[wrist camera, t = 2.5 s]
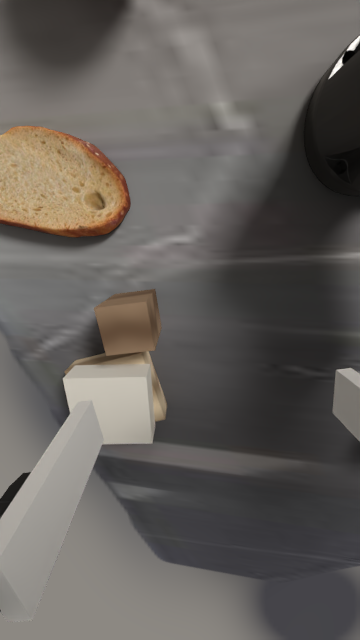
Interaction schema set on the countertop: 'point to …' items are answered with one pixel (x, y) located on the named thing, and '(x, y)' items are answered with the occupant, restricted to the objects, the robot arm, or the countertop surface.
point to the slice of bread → (59, 184)
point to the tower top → (116, 399)
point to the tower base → (131, 358)
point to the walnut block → (129, 322)
